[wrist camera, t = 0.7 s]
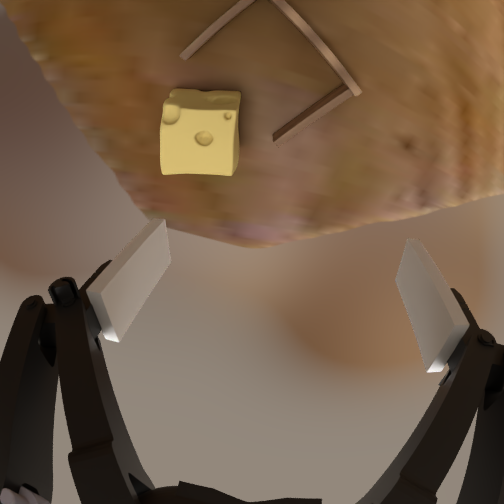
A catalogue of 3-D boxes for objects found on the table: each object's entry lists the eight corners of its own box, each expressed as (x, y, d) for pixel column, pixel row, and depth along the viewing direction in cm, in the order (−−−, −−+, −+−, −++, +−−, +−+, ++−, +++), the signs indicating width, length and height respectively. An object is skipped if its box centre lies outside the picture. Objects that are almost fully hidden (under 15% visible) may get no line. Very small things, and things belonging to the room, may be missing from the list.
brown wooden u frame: (184, 52, 34) (177, 56, 31) (263, -15, 26) (264, -18, 24) (277, 139, 45) (278, 150, 42) (354, 85, 37) (362, 92, 34)
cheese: (174, 86, 38) (154, 106, 31) (245, 89, 39) (242, 109, 32) (175, 145, 46) (159, 176, 39) (240, 148, 46) (236, 180, 39)
